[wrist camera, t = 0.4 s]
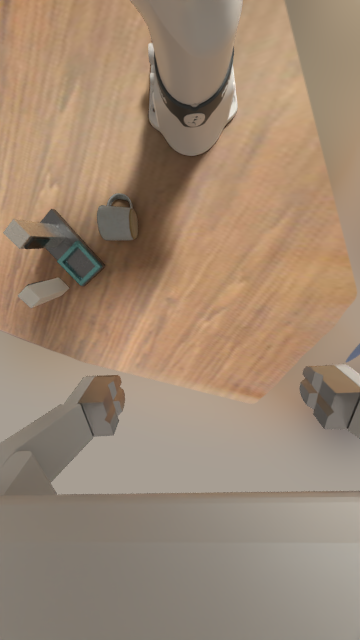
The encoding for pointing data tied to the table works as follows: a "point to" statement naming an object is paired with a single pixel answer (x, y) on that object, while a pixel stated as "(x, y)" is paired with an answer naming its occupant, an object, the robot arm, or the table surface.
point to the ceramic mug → (117, 220)
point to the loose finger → (43, 292)
